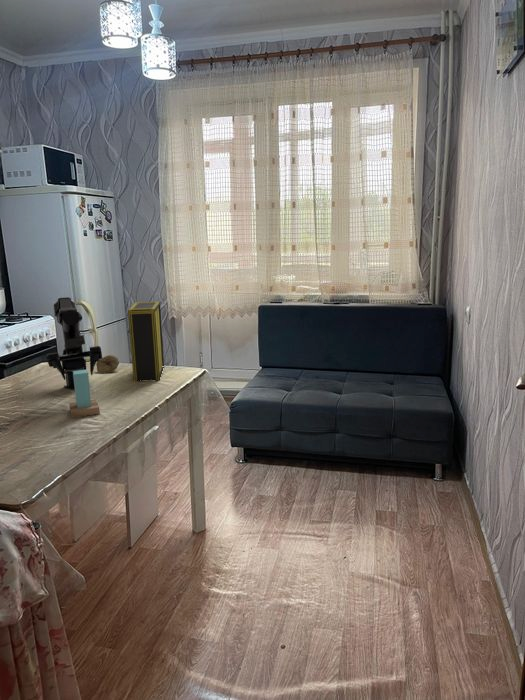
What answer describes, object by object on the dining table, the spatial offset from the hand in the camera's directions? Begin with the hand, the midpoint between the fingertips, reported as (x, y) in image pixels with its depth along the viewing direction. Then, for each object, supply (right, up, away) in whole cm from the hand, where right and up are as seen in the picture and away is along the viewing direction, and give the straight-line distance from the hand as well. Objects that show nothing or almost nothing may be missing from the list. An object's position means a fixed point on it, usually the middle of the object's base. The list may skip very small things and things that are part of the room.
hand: (78, 377), depth 189 cm
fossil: (-2, 0, +45) cm, 45 cm away
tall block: (+4, -9, -6) cm, 12 cm away
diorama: (+17, -1, +38) cm, 42 cm away
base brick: (+4, -12, -6) cm, 14 cm away
